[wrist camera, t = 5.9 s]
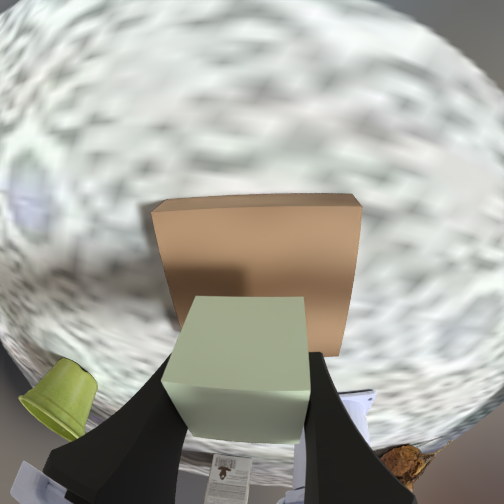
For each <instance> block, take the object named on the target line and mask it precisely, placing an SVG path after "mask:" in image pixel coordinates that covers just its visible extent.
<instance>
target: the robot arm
mask: <svg viewBox="0 0 504 504" xmlns="http://www.w3.org/2000/svg"><path fill="white" fill-rule="evenodd" d="M171 354H172V353H171ZM171 354H170V355H169V356H168V358H167V359H166V360H165V361H164V363H163V364H162V365H161V366H160V367H159V368H158V370H157V371H156V372H155V373H154V374H153V375H152V377H151V378H150V379H149V380H148V381H147V382H146V383H145V385H144V386H143V387H142V388H141V389H140V390H139V391H138V392H137V393H136V394H135V395H134V396H133V397H132V398H131V399H130V400H129V401H128V402H127V403H126V404H125V405H124V406H123V407H122V408H120V409H119V410H118V411H117V412H116V413H115V414H113V415H112V416H111V417H110V418H108V419H107V420H106V421H104V422H103V423H102V424H100V425H99V426H97V427H96V428H94V429H93V430H91V431H90V432H88V433H87V434H85V435H83V436H81V437H79V438H78V439H76V440H74V441H72V442H70V443H68V444H65V445H63V446H61V447H59V448H56V449H54V450H52V451H51V453H50V455H49V457H48V459H47V461H46V464H45V466H44V468H43V473H42V472H41V471H39V470H37V469H36V468H35V467H33V466H32V465H30V464H29V463H27V462H26V461H23V462H22V464H21V467H20V469H19V471H18V474H17V476H16V479H15V481H14V483H13V486H12V489H11V491H10V494H11V495H12V496H13V497H14V498H15V499H16V500H17V501H18V502H19V503H20V504H175V493H176V482H177V474H178V468H179V462H180V456H181V451H182V446H183V443H184V439H185V436H186V433H187V430H188V427H187V425H186V424H185V422H184V420H183V419H182V417H181V416H180V414H179V412H178V411H177V409H176V407H175V405H174V404H173V402H172V400H171V398H170V397H169V395H168V393H167V391H166V389H165V388H164V386H163V384H162V382H161V379H162V377H163V374H164V372H165V369H166V367H167V364H168V362H169V359H170V357H171ZM308 354H309V369H310V387H311V391H310V397H309V402H308V407H307V412H306V416H305V421H304V426H303V430H302V434H301V439H300V443H299V444H295V445H294V471H293V490H292V491H286V497H285V498H282V499H280V500H279V501H278V503H277V504H418V503H417V500H416V497H415V495H414V494H413V493H412V492H411V491H410V490H409V489H408V488H407V487H406V486H405V485H404V484H402V483H401V482H400V481H399V480H398V479H397V478H396V477H395V476H394V475H393V473H392V472H391V471H390V470H389V469H388V468H387V467H386V466H385V465H384V463H383V462H382V461H381V460H380V459H379V457H378V456H377V455H376V454H375V453H374V451H373V450H372V449H371V447H370V440H369V433H368V426H367V419H366V415H367V413H368V411H369V409H370V407H371V405H372V403H373V401H374V399H375V397H376V392H375V391H367V392H359V393H350V394H338V392H337V390H336V388H335V386H334V384H333V381H332V379H331V377H330V374H329V372H328V369H327V366H326V363H325V360H324V357H323V353H321V352H308Z"/></svg>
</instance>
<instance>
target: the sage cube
mask: <svg viewBox="0 0 504 504" xmlns="http://www.w3.org/2000/svg"><path fill="white" fill-rule="evenodd" d="M161 382H162V384H163V386H164V388H165V389H166V391H167V393H168V395H169V397H170V398H171V400H172V402H173V404H174V405H175V407H176V409H177V411H178V412H179V414H180V416H181V417H182V419H183V420H184V422H185V424H186V425H187V427H188V429H189V430H190V432H191V433H192V435H193V436H195V437H201V438H208V439H216V440H224V441H235V442H248V443H270V444H299V443H300V439H301V434H302V430H303V426H304V421H305V416H306V412H307V407H308V402H309V397H310V391H311V387H310V369H309V354H308V340H307V328H306V316H305V305H304V297H222V296H195V299H194V301H193V303H192V306H191V308H190V311H189V313H188V315H187V318H186V320H185V322H184V325H183V327H182V330H181V332H180V334H179V337H178V339H177V342H176V344H175V347H174V349H173V352H172V354H171V357H170V359H169V362H168V364H167V367H166V369H165V372H164V374H163V377H162V379H161Z"/></svg>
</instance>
